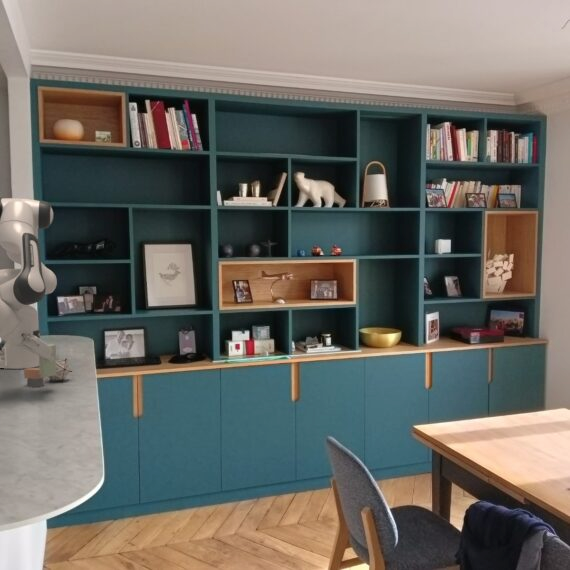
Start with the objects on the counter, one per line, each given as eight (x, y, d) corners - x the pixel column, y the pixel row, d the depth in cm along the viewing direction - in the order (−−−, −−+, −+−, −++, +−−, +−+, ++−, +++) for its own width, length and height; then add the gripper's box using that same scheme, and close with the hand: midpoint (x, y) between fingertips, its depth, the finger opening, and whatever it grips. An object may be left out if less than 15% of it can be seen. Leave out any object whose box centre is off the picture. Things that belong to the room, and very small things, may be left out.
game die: (63, 390, 207) (81, 367, 209) (52, 387, 199) (70, 363, 201) (45, 376, 209) (63, 353, 211) (33, 373, 201) (52, 349, 203)
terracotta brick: (24, 378, 197) (24, 369, 197) (29, 376, 200) (28, 367, 200) (41, 378, 196) (40, 370, 196) (45, 376, 199) (45, 368, 199)
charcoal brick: (27, 385, 199) (27, 376, 199) (36, 383, 202) (35, 375, 201) (34, 388, 195) (34, 379, 195) (43, 386, 197) (43, 378, 197)
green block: (39, 374, 191) (38, 345, 190) (51, 372, 194) (51, 343, 193) (43, 377, 188) (43, 346, 187) (56, 375, 191) (55, 345, 190)
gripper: (36, 328, 177) (68, 356, 184) (14, 321, 192) (45, 346, 199) (21, 344, 174) (54, 371, 182) (0, 335, 189) (32, 360, 197)
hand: (49, 358), depth 191 cm, fingers closed on green block, 4 cm apart
